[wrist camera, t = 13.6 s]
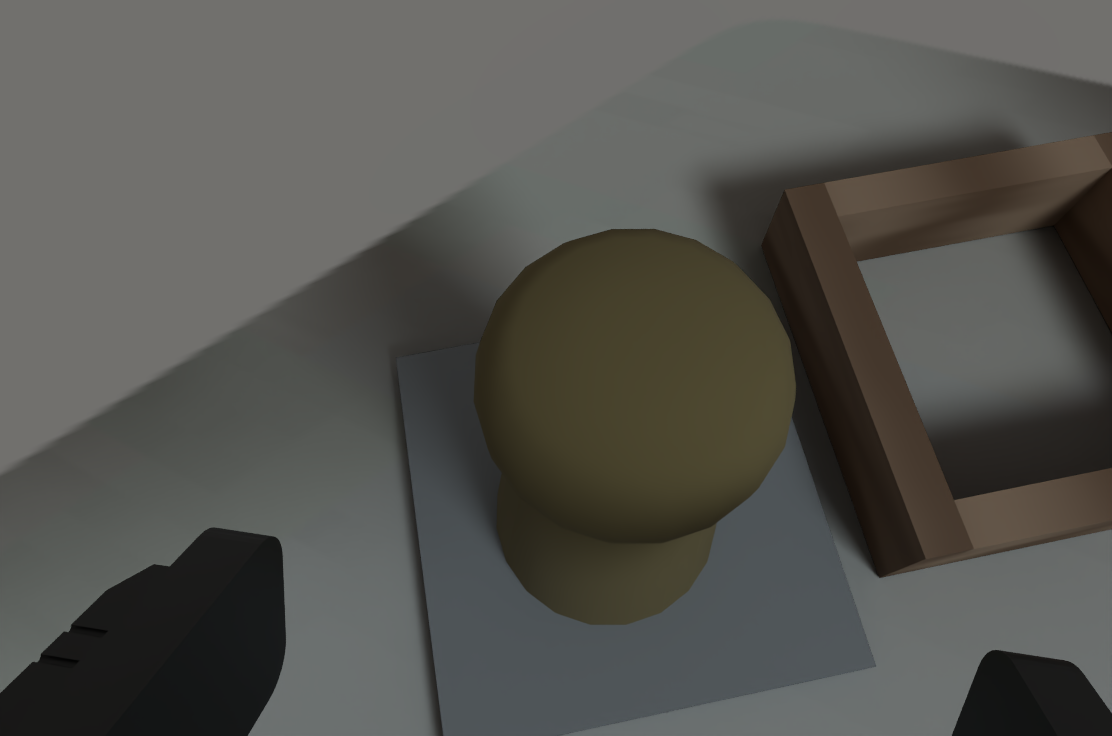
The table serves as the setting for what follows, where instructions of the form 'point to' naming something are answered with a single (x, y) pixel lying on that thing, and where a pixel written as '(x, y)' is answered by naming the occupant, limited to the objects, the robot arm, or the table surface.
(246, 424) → the table surface
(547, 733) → the rubber mat
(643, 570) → the cork
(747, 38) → the table surface
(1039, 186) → the walnut collar
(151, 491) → the table surface
